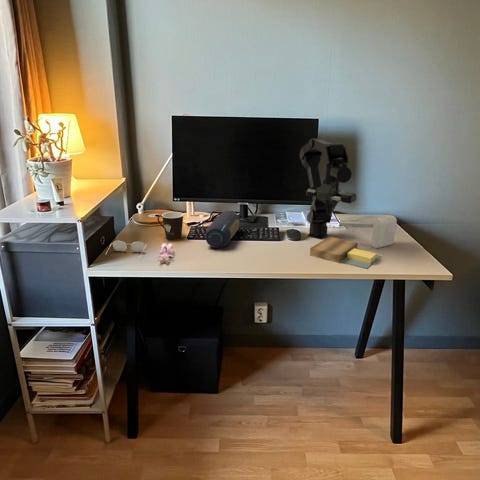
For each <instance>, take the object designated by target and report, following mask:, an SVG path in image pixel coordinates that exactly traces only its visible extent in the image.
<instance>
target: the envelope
mask: <svg viewBox="0 0 480 480" xmlns="http://www.w3.org/2000/svg"><path fill="white" fill-rule="evenodd" d="M334 214H335V215H336V216H337V217H338V218H339V219H340V225H342V226H345V228H346V227H348V228H350V227H351V228H374V222H375V220H376V219H377V218H378V216H377V215H373V214H372V215H370V214H369V215H365V214H347V213H345V214H344V213H334Z"/></svg>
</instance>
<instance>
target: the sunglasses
mask: <svg viewBox="0 0 480 480" xmlns="http://www.w3.org/2000/svg"><path fill="white" fill-rule="evenodd" d="M127 245H128V243H126V242H125V241H121V240H114V241H113V242H111V243H110V245H109V248H108V249H110V247H111V246H113V249H114V251H116V252H125V251H126V250H127V247H128V246H127ZM129 246H130V250H132V251H134V252H136V253H140V255H139V257H141V256H142V254H143V253H144V252H145V251H146V247H147V245H146V244H145V243H144V242H142V241H134V242H132V243H129ZM107 253H108V251H106V252H105V254H107ZM140 260H141V259H140V258H139V261H140Z"/></svg>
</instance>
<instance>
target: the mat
mask: <svg viewBox="0 0 480 480" xmlns="http://www.w3.org/2000/svg"><path fill="white" fill-rule="evenodd" d="M381 257H382V255H379V254H377V257H376V259H375V260H374V261H373V262H372V263H370V264H369V263H365V262H361V261H357V260H353V259H349V258H347V257H346V258H345V259H343V260H342V261H341V262H340V263H343V264H345V265H350V266H355V267H359V268H361V269H366V270H367V269H368V268H369V267H371V266H372V265H373V264H374V263H376V262H377V261H378V260H379V259H380V258H381Z"/></svg>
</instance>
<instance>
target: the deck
mask: <svg viewBox="0 0 480 480" xmlns="http://www.w3.org/2000/svg"><path fill="white" fill-rule="evenodd" d="M358 245H359V244H358V242H355V241H351V240H347V239H342V238H338V237H332V236H328V237H327V238H326V237H325V238H324V239H323V240H321V241H320V242H318V243H316V244H315V245H313V246H311V247H310V248H309V250H310V251H309V256H311V257H315V258H319V259H322V260H326V261H329V262H334V263H337V264H340V263H342V262H341V261H342V260H343V259H345V258H346V257H347V253H348V252H349V251H351V250H352V249H354V248H355V249H358Z"/></svg>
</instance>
